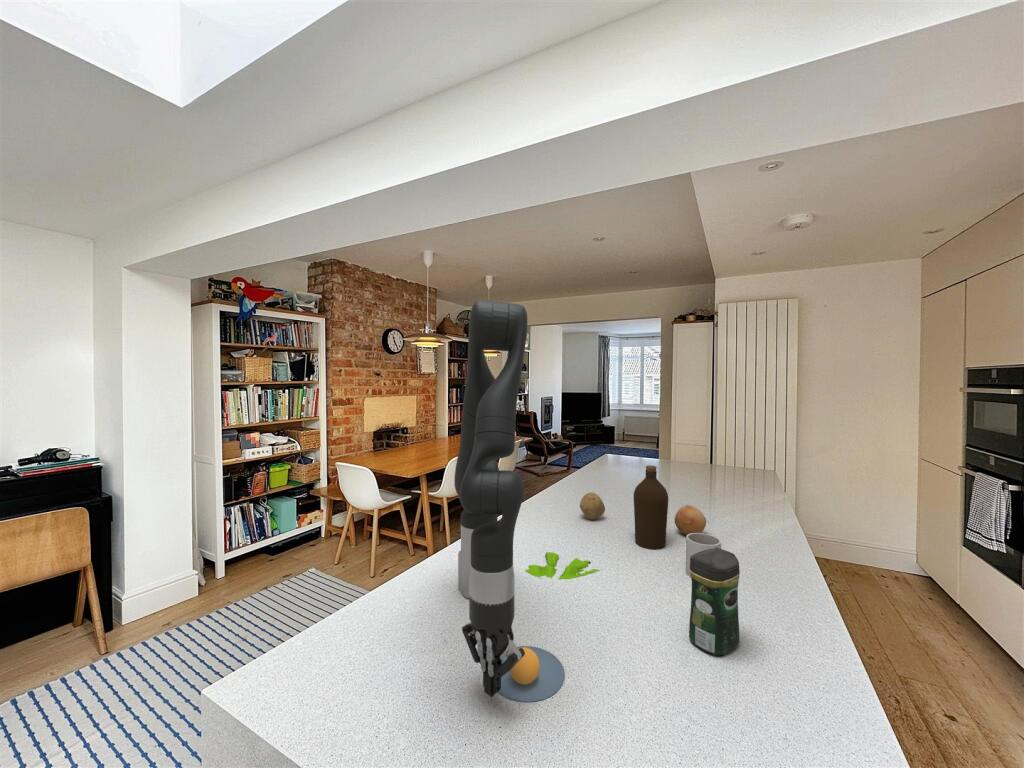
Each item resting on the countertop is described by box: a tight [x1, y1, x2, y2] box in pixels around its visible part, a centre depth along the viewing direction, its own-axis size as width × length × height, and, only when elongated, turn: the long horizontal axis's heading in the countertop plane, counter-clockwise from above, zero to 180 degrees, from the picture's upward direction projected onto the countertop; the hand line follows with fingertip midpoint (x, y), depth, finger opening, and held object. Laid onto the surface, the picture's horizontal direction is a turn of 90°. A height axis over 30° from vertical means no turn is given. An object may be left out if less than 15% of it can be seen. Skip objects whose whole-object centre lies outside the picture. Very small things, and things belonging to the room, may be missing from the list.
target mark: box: [497, 645, 566, 703], centre depth 76 cm, size 14×14×1 cm
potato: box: [579, 492, 606, 521], centre depth 156 cm, size 9×9×10 cm
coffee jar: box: [688, 547, 741, 656], centre depth 85 cm, size 10×8×19 cm
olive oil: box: [633, 465, 669, 550], centre depth 134 cm, size 11×11×25 cm
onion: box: [674, 504, 707, 536], centre depth 141 cm, size 10×10×10 cm
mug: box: [685, 532, 722, 579], centre depth 114 cm, size 12×9×10 cm
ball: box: [510, 647, 540, 685], centre depth 74 cm, size 6×6×6 cm
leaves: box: [524, 551, 601, 580], centre depth 119 cm, size 20×22×2 cm
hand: (491, 692), depth 70 cm, fingers closed
